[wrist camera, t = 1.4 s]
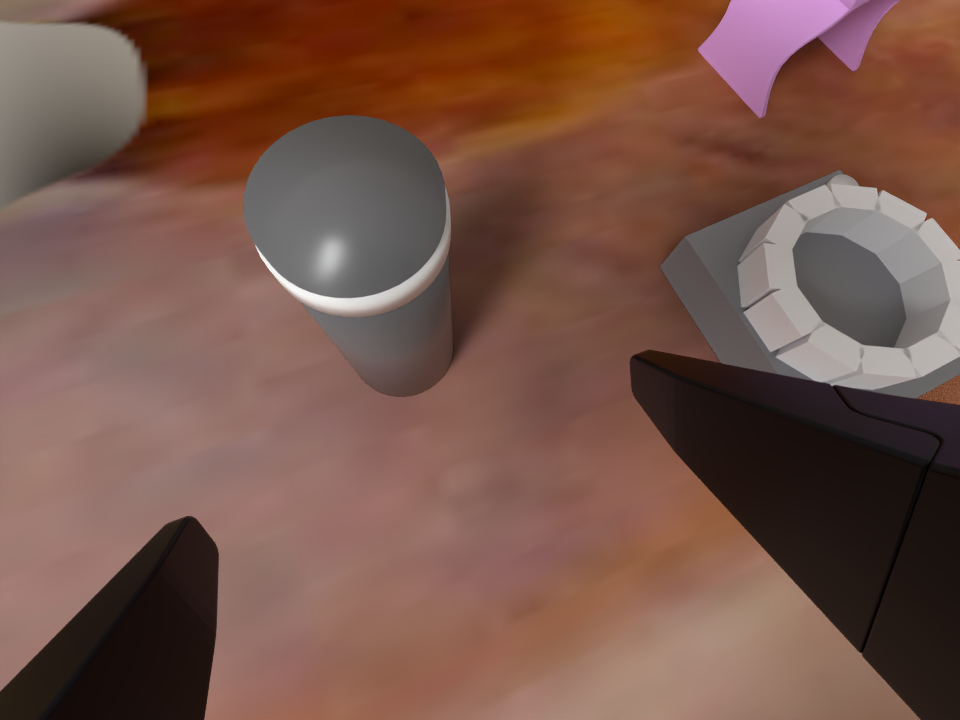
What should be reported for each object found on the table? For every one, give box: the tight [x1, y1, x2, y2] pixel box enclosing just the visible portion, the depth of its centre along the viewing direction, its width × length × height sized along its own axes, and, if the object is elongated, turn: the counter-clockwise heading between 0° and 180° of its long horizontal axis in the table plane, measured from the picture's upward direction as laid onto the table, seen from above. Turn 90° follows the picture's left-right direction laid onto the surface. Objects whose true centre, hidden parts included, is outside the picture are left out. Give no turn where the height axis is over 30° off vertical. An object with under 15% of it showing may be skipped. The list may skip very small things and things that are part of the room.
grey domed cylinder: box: [243, 115, 453, 397], centre depth 17 cm, size 5×5×12 cm
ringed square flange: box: [660, 170, 960, 399], centre depth 22 cm, size 11×10×5 cm
